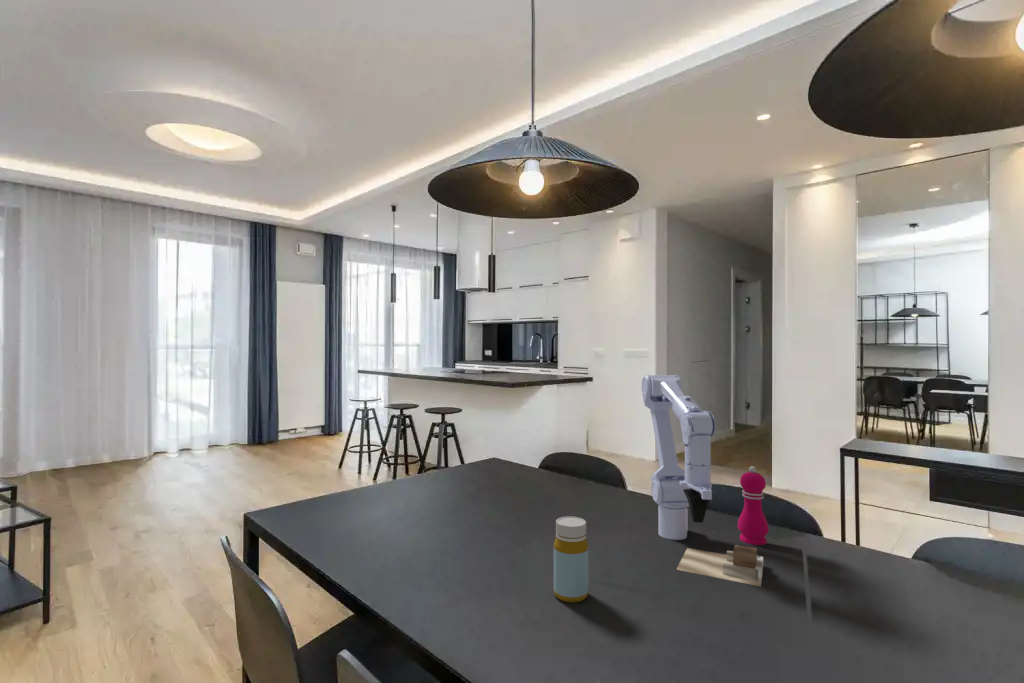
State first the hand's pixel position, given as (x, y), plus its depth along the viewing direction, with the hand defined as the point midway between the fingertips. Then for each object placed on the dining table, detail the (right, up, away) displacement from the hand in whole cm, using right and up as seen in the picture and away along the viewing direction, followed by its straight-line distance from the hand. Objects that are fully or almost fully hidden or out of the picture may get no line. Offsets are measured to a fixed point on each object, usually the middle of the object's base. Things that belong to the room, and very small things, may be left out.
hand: (697, 521), depth 120 cm
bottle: (-31, -10, -16) cm, 36 cm away
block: (+8, -9, -6) cm, 14 cm away
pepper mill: (+19, -10, +12) cm, 24 cm away
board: (+4, -10, -3) cm, 11 cm away
